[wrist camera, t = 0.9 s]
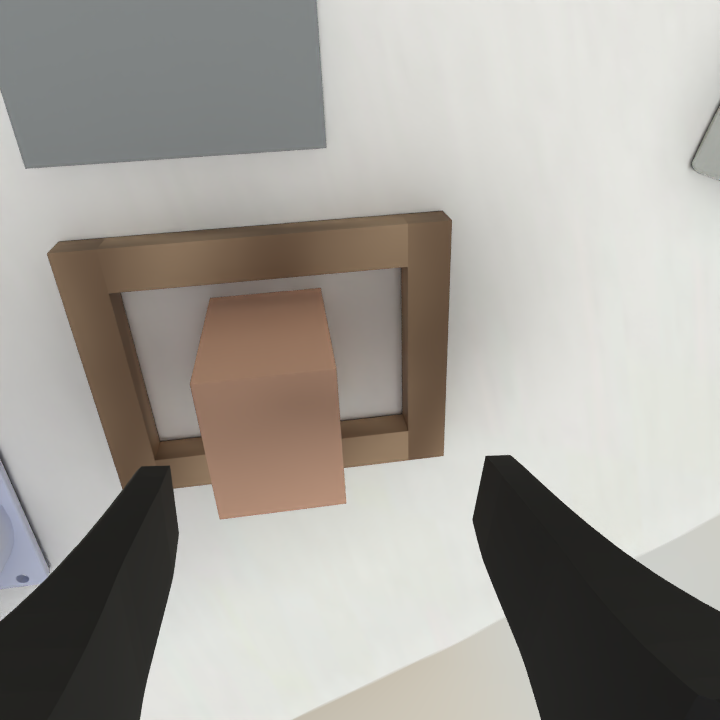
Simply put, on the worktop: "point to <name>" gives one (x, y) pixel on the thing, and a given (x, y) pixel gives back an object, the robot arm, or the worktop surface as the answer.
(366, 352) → the worktop surface
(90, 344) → the walnut frame
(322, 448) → the terracotta block
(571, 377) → the worktop surface
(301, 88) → the slate mat
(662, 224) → the worktop surface
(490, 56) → the worktop surface
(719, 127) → the skincare box
